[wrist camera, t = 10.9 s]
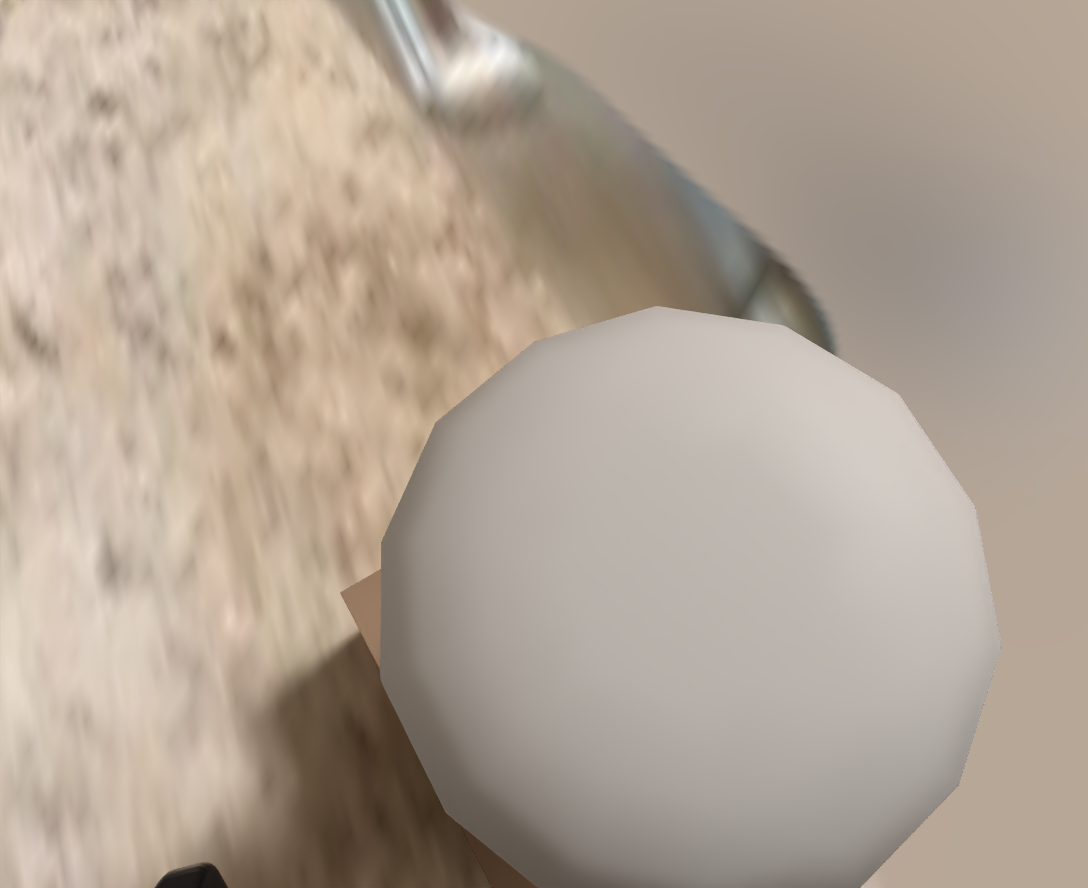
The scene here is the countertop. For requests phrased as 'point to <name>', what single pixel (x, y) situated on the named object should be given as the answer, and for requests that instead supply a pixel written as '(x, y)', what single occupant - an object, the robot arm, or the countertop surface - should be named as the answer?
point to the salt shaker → (686, 611)
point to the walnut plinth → (367, 616)
